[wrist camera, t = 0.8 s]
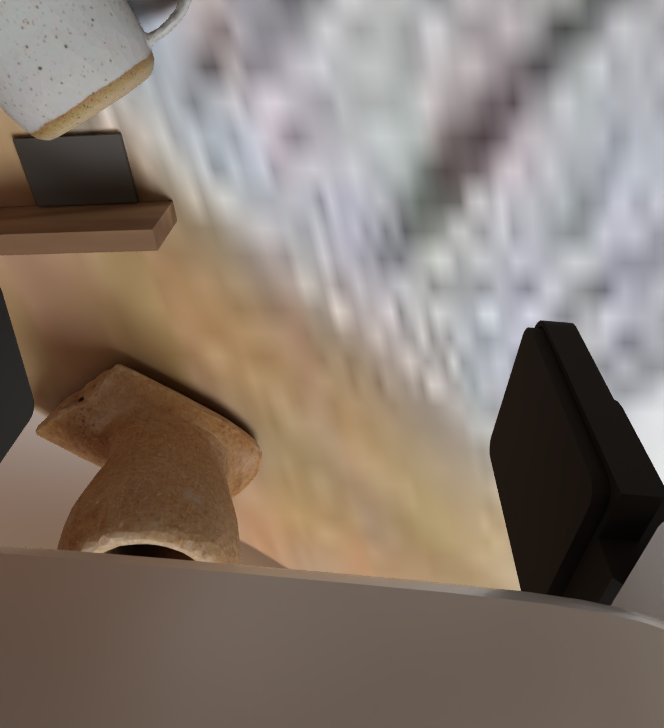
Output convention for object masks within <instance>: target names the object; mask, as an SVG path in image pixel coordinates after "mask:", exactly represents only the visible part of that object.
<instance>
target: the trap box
mask: <svg viewBox="0 0 664 728" xmlns="http://www.w3.org/2000/svg"><path fill="white" fill-rule="evenodd" d="M13 141H14V144H15V147H16V150H17V152H18V155H19V158H20V161H21V163H22V166H23V169H24V172H25V174H26V177H27V180H28V183H29V185H30V188H31V191H32V194H33V196H34V199H35V202H36V205H37V206H24V207H0V255H27V254H60V253H92V252H125V251H158V249H159V248H160V246H161V245H162V243H163V242H164V240H165V238H166V237H167V235H168V234H169V232H170V231H171V229H172V228H173V226H174V225H175V223H176V221H177V218H176V214H175V209H174V205H173V201H159V202H138V201H139V200H138V196H137V192H136V188H135V185H134V181H133V177H132V173H131V169H130V165H129V161H128V157H127V153H126V150H125V146H124V142H123V138H122V134H121V133H108V134H86V135H64V136H59V137H57V138H55V139H53V140H50V141H49V140H41V139H37V138H35V137H21V138H14V139H13Z"/></svg>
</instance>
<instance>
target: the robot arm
mask: <svg viewBox="0 0 664 728" xmlns="http://www.w3.org/2000/svg"><path fill="white" fill-rule="evenodd" d="M33 410H34V399H33V395H32V392H31V388H30V385H29V381H28V378H27V375H26V371H25V368H24V364H23V361H22V358H21V354H20V351H19V348H18V344H17V341H16V337H15V334H14V331H13V327H12V324H11V320H10V317H9V314H8V310H7V307H6V303H5V300H4V297H3V293H2V290H1V288H0V463H1V461H2V460H3V458H4V457H5V455H6V454H7V452H8V451H9V449H10V448H11V446H12V445H13V444H14V442H15V440H16V439H17V438H18V436H19V435H20V433H21V432H22V430H23V429H24V427H25V426H26V425H27V423H28V422H29V420H30V418H31V417H32V414H33ZM490 458H491V463H492V467H493V471H494V476H495V480H496V484H497V489H498V493H499V497H500V502H501V506H502V510H503V515H504V519H505V523H506V527H507V532H508V536H509V540H510V545H511V549H512V553H513V558H514V562H515V566H516V571H517V575H518V579H519V584H520V588H521V591H514V590H505V589H495V588H486V587H476V586H467V585H457V584H448V583H438V582H428V581H418V580H407V579H396V578H384V577H373V576H362V575H351V574H339V573H328V572H317V571H306V570H294V569H283V568H272V567H260V566H248V565H237V564H225V563H213V562H201V561H189V560H178V559H166V558H154V557H142V556H130V555H117V554H105V553H93V552H81V551H69V550H56V549H43V548H31V547H18V546H5V545H0V728H664V485H663V483H662V481H661V479H660V477H659V475H658V474H657V472H656V470H655V468H654V466H653V464H652V462H651V460H650V459H649V457H648V455H647V453H646V451H645V449H644V447H643V445H642V443H641V442H640V440H639V438H638V436H637V434H636V432H635V430H634V428H633V427H632V425H631V423H630V421H629V419H628V417H627V415H626V413H625V411H624V410H623V408H622V406H621V405H620V404H619V402H618V401H616V400H614V399H613V397H612V395H611V393H610V391H609V389H608V387H607V385H606V383H605V381H604V379H603V377H602V376H601V374H600V372H599V370H598V368H597V366H596V364H595V362H594V360H593V358H592V356H591V354H590V353H589V351H588V349H587V347H586V345H585V343H584V341H583V339H582V337H581V335H580V333H579V331H578V330H577V328H576V326H575V325H574V324H573V323H565V322H553V321H539V322H538V323H537V324H536V326H535V328H527V329H526V330H525V331H524V334H523V337H522V340H521V343H520V346H519V349H518V353H517V356H516V359H515V362H514V365H513V369H512V372H511V375H510V378H509V382H508V385H507V388H506V391H505V394H504V398H503V401H502V404H501V407H500V410H499V414H498V417H497V420H496V423H495V427H494V430H493V433H492V436H491V440H490Z"/></svg>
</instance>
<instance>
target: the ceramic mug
mask: <svg viewBox="0 0 664 728" xmlns="http://www.w3.org/2000/svg"><path fill="white" fill-rule="evenodd" d="M190 3H191V0H179V1H178V4H177V7H176V9H175V10H174V12H173V13H172V14H171V15H170V17H169V18H168V20H166V21H165V22H164V23H163V24H162V25H161V26H160V27H159V28H158V29H156V30H154V31H152V32H150V33H146V32H144V30H143V28H142V27H141V25H140V23H139V21H138V20H137V18H136V16H135V14H134V13H133V11H132V9H131V7H130V6H129V4H128V2H127V0H0V106H1V108H2V109H3V110H4V111H5V112H6V113H7V114H8V115H9V116H10V117H11V118H12V119H13V120H14V121H15V122H16V123H18V124H19V125H20V126H21V127H22V128H23V129H24V130H26V131H27V132H28V133H29V134H30V135H32V136H33V137H35V138H37V139H41V140H49V141H50V140H53V139H55V138H57V137H59V136H61V135H63V134H64V133H66V132H68V131H70V130H71V129H73V128H75V127H77V126H79V125H80V124H82V123H83V122H85V121H87V120H88V119H90V118H91V117H93V116H94V115H96V114H97V113H99V112H100V111H102V110H103V109H105V108H106V107H108V106H109V105H111V104H112V103H114V102H115V101H117V100H118V99H120V98H121V97H123V96H124V95H126V94H127V93H129V92H130V91H131V90H133V89H134V88H135V87H137V86H138V85H140V84H141V83H142V82H144V81H145V80H146V79H147V78H148V77H149V76H150V75H151V73H152V70H153V65H154V57H153V53H152V50H151V49H152V46H153V44H154V43H155V42H156V41H157V40H159V39H161V38H163V37H164V36H165V35H167V34H168V33H169V32H170V31H171V30H173V29H174V28H175V27H176V26H177V24H178V23H179V22H180V21H181V20H182V18H183V17H184V15H185V14H186V12H187V10H188V8H189V5H190Z"/></svg>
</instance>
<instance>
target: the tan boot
mask: <svg viewBox="0 0 664 728" xmlns="http://www.w3.org/2000/svg"><path fill="white" fill-rule="evenodd" d="M36 433H37V435H38V436H40V437H42V438H44V439H46V440H48V441H50V442H52V443H54V444H56V445H58V446H60V447H62V448H64V449H66V450H68V451H70V452H72V453H74V454H75V455H77V456H79V457H81V458H83V459H85V460H87V461H89V462H91V463H93V464H95V465H97V466H99V467H101V470H100V471H99V472H98V473H97V474H96V476H95V477H94V478H93V480H92V481H91V482H90V484H89V485H88V486H87V488H86V489H85V490H84V492H83V493H82V494H81V496H80V497H79V499H78V500H77V501H76V503H75V504H74V506H73V507H72V509H71V512H70V514H69V516H68V518H67V521H66V523H65V525H64V528H63V531H62V535H61V537H60V541H59V544H58V548H57V550H69V551H81V552H93V553H105V554H117V555H130V556H142V557H154V558H166V559H178V560H189V561H201V562H213V563H225V564H237V565H240V540H239V532H238V523H237V517H236V513H235V509H234V506H233V502H232V499H231V498H232V497H234V496H235V495H237V494H238V493H240V492H241V491H242V490H243V489H244V488H245V487H246V486H247V485H248V484H249V483H250V482H251V481H252V480H253V478H254V477H255V476H256V474H257V472H258V470H259V467H260V461H261V457H262V452H261V450H260V447H259V446H258V444H257V442H256V441H255V440H254V439H253V438H252V437H251V436H250V435H249V434H247V433H246V432H245V431H244V430H242V429H241V428H239V427H238V426H237V425H235V424H234V423H232V422H231V421H229V420H228V419H226V418H224V417H223V416H221V415H220V414H218V413H216V412H214V411H212V410H210V409H208V408H206V407H205V406H203V405H201V404H199V403H197V402H195V401H193V400H191V399H190V398H188V397H186V396H184V395H182V394H180V393H178V392H176V391H174V390H172V389H170V388H168V387H166V386H164V385H162V384H160V383H158V382H156V381H154V380H152V379H150V378H148V377H146V376H145V375H143V374H141V373H139V372H137V371H135V370H133V369H130V368H128V367H126V366H123V365H115V366H114V367H113V368H112V369H110V370H107V371H104V372H102V373H101V374H100V375H99V376H97V377H96V378H95V379H94V380H92V381H90V382H88V383H87V384H86V386H85V387H84V388H83V389H81V390H78V391H76V392H75V393H73V394H71V395H70V396H68V397H67V398H66V399H64V400H63V401H62V402H61V404H60V405H59V406H57V407H56V408H55V409H54V410H53V411H52V412H51V413H50V414H49V416H48V417H47V418H46V419H45V420H44V421H43V422H42V423H41V424H40V425H38V427H37V429H36Z"/></svg>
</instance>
